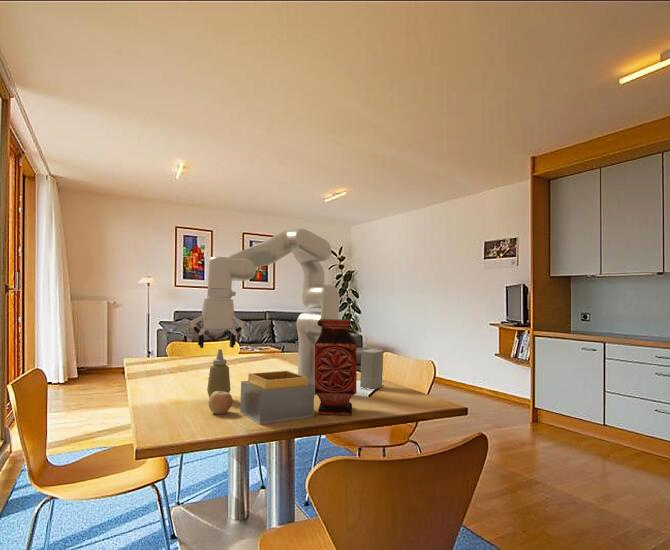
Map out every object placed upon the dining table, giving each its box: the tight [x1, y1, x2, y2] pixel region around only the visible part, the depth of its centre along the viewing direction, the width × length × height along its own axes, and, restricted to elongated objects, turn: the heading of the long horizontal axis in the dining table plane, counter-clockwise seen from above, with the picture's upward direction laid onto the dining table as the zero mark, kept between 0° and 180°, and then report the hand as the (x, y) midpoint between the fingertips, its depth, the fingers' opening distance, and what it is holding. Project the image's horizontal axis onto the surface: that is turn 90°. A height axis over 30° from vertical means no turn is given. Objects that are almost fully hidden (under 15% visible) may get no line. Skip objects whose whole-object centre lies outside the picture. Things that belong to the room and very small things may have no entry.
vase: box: [314, 318, 358, 416], centre depth 150 cm, size 14×14×30 cm
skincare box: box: [359, 348, 384, 390], centre depth 189 cm, size 8×7×16 cm
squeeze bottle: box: [206, 348, 231, 398], centre depth 161 cm, size 8×8×18 cm
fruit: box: [208, 388, 233, 415], centre depth 144 cm, size 8×7×8 cm
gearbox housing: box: [239, 370, 315, 425], centre depth 143 cm, size 18×16×12 cm
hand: (216, 347), depth 146 cm, fingers open, 9 cm apart
